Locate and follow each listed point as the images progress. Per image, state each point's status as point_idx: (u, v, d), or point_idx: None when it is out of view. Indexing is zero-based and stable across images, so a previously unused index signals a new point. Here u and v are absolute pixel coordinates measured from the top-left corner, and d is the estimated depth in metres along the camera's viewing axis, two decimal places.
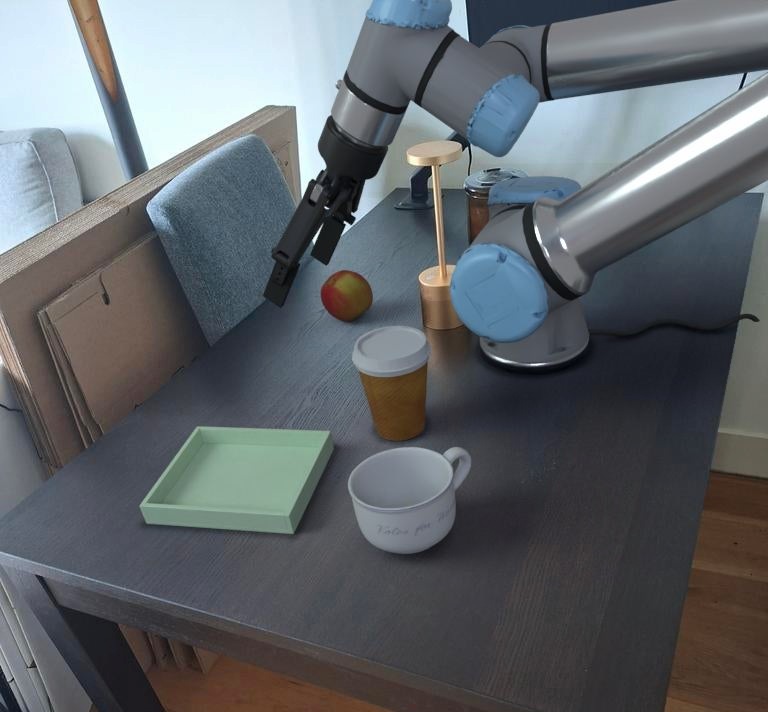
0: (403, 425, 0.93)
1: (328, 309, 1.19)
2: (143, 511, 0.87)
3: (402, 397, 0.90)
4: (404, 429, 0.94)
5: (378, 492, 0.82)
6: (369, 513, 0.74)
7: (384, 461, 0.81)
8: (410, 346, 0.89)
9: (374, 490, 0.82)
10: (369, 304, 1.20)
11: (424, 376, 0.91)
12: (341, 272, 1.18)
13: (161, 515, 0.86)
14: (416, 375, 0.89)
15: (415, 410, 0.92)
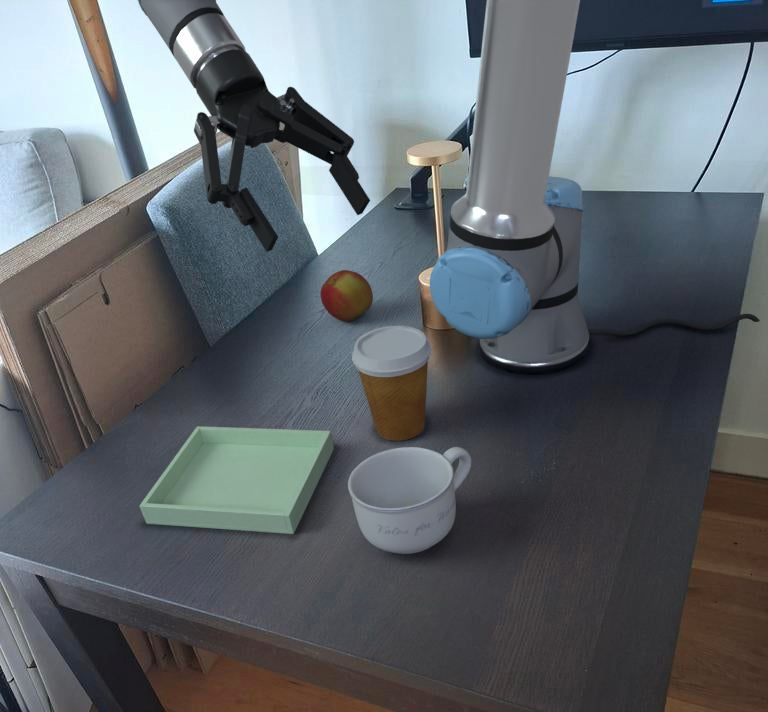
0: (403, 425, 0.93)
1: (328, 309, 1.19)
2: (143, 511, 0.87)
3: (402, 397, 0.90)
4: (404, 429, 0.94)
5: (378, 492, 0.82)
6: (369, 513, 0.74)
7: (384, 461, 0.81)
8: (410, 346, 0.89)
9: (374, 490, 0.82)
10: (369, 304, 1.20)
11: (424, 376, 0.91)
12: (341, 272, 1.18)
13: (161, 515, 0.86)
14: (416, 375, 0.89)
15: (415, 410, 0.92)
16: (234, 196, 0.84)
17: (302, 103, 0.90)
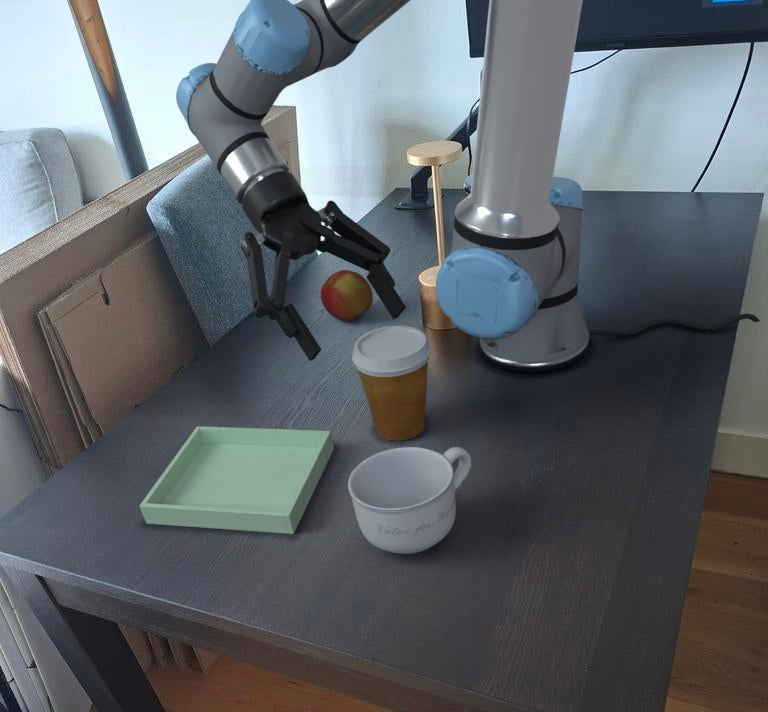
0: (403, 425, 0.93)
1: (328, 309, 1.19)
2: (143, 511, 0.87)
3: (402, 397, 0.90)
4: (404, 429, 0.94)
5: (378, 492, 0.82)
6: (369, 513, 0.74)
7: (384, 461, 0.81)
8: (410, 346, 0.89)
9: (374, 490, 0.82)
10: (369, 304, 1.20)
11: (424, 376, 0.91)
12: (341, 272, 1.18)
13: (161, 515, 0.86)
14: (416, 375, 0.89)
15: (415, 410, 0.92)
16: (280, 311, 0.89)
17: (341, 216, 0.95)
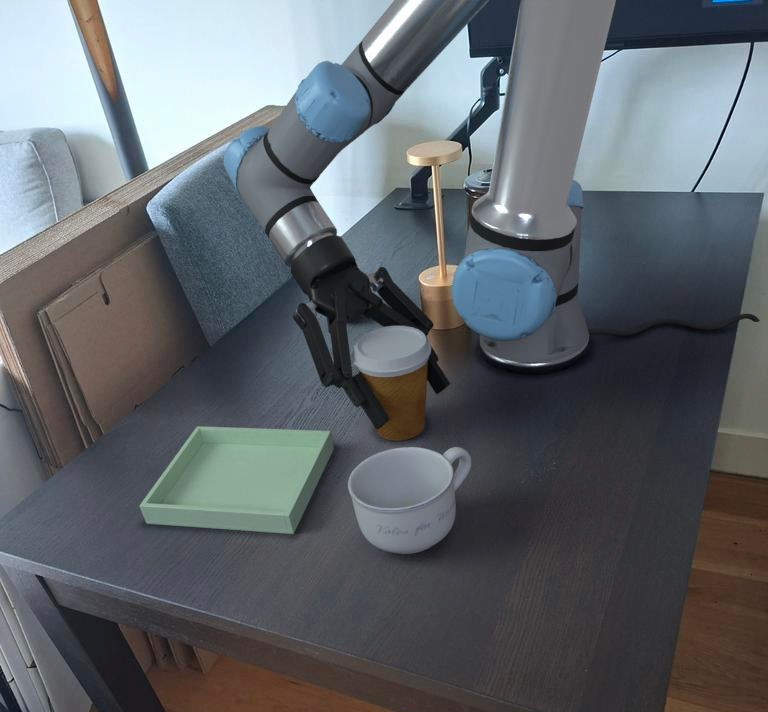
0: (403, 425, 0.93)
1: None
2: (143, 511, 0.87)
3: (402, 397, 0.90)
4: (404, 429, 0.94)
5: (378, 492, 0.82)
6: (369, 513, 0.74)
7: (384, 461, 0.81)
8: (410, 346, 0.89)
9: (374, 490, 0.82)
10: (369, 304, 1.20)
11: (424, 376, 0.91)
12: None
13: (161, 515, 0.86)
14: (416, 375, 0.89)
15: (415, 410, 0.92)
16: (348, 381, 0.89)
17: (390, 283, 0.94)
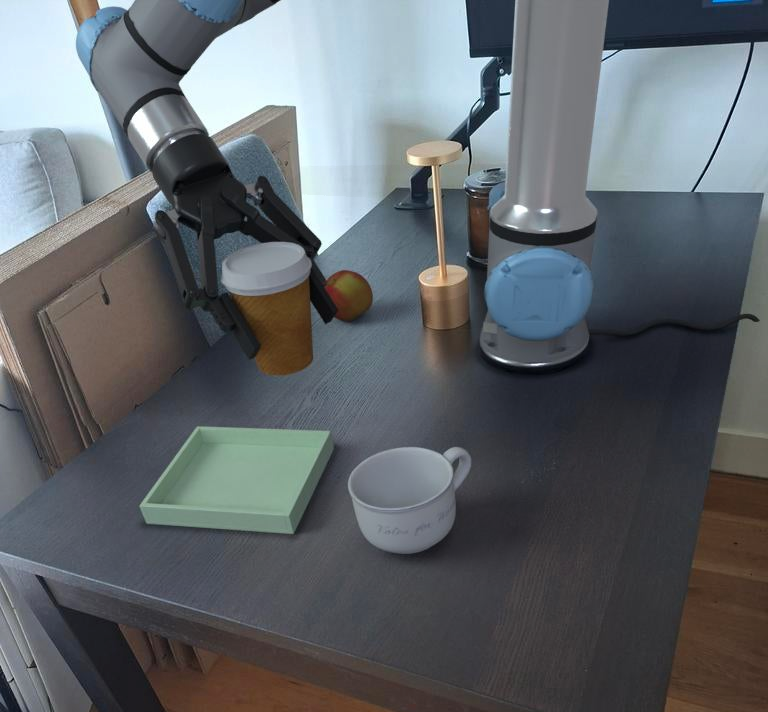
0: (283, 356, 0.81)
1: None
2: (143, 511, 0.87)
3: (277, 322, 0.78)
4: (284, 362, 0.82)
5: (378, 492, 0.82)
6: (369, 513, 0.74)
7: (384, 461, 0.81)
8: (285, 261, 0.77)
9: (374, 490, 0.82)
10: (369, 304, 1.20)
11: (304, 298, 0.79)
12: (341, 272, 1.18)
13: (161, 515, 0.86)
14: (291, 295, 0.77)
15: (296, 339, 0.80)
16: (213, 302, 0.77)
17: (271, 195, 0.82)
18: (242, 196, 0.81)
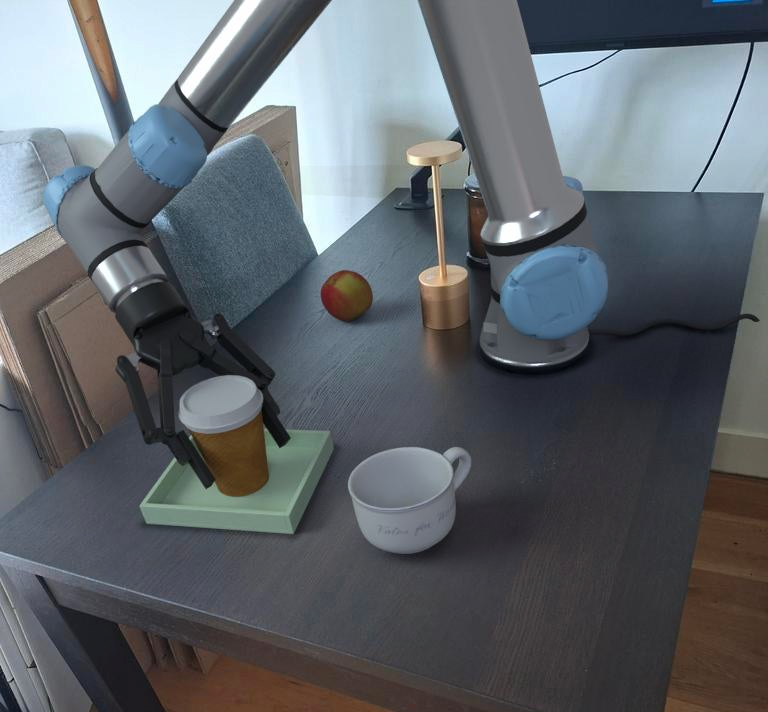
0: (239, 481, 0.87)
1: (328, 309, 1.19)
2: (143, 511, 0.87)
3: (231, 453, 0.84)
4: (240, 485, 0.88)
5: (378, 492, 0.82)
6: (369, 513, 0.74)
7: (384, 461, 0.81)
8: (238, 399, 0.83)
9: (374, 490, 0.82)
10: (369, 304, 1.20)
11: (256, 430, 0.85)
12: (341, 272, 1.18)
13: (161, 515, 0.86)
14: (244, 430, 0.83)
15: (250, 466, 0.86)
16: (171, 439, 0.83)
17: (227, 331, 0.88)
18: (199, 335, 0.87)
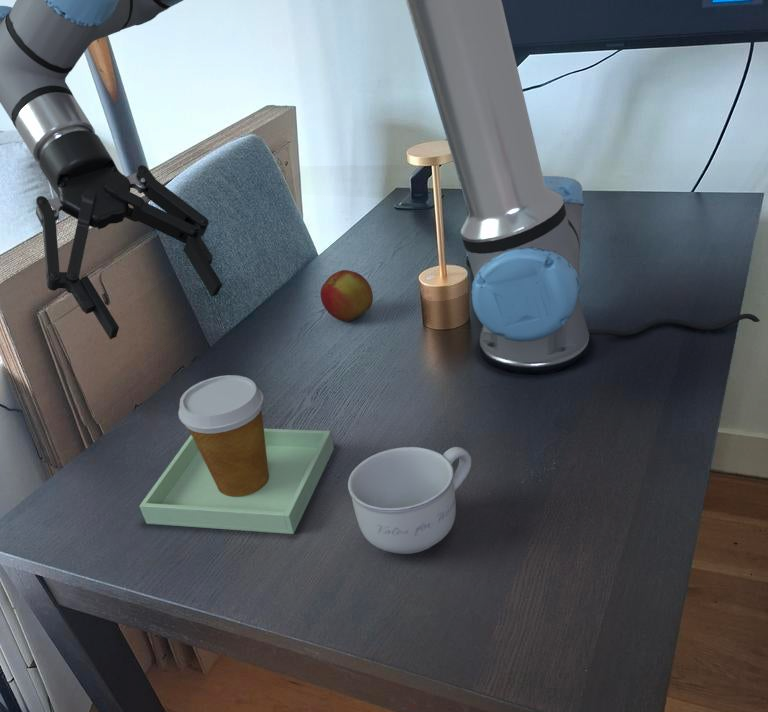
0: (239, 481, 0.87)
1: (328, 309, 1.19)
2: (143, 511, 0.87)
3: (232, 453, 0.84)
4: (240, 485, 0.88)
5: (378, 492, 0.82)
6: (369, 513, 0.74)
7: (384, 461, 0.81)
8: (238, 399, 0.83)
9: (374, 490, 0.82)
10: (369, 304, 1.20)
11: (256, 430, 0.85)
12: (341, 272, 1.18)
13: (161, 515, 0.86)
14: (244, 430, 0.83)
15: (250, 466, 0.86)
16: (74, 284, 0.83)
17: (154, 182, 0.89)
18: (127, 188, 0.87)
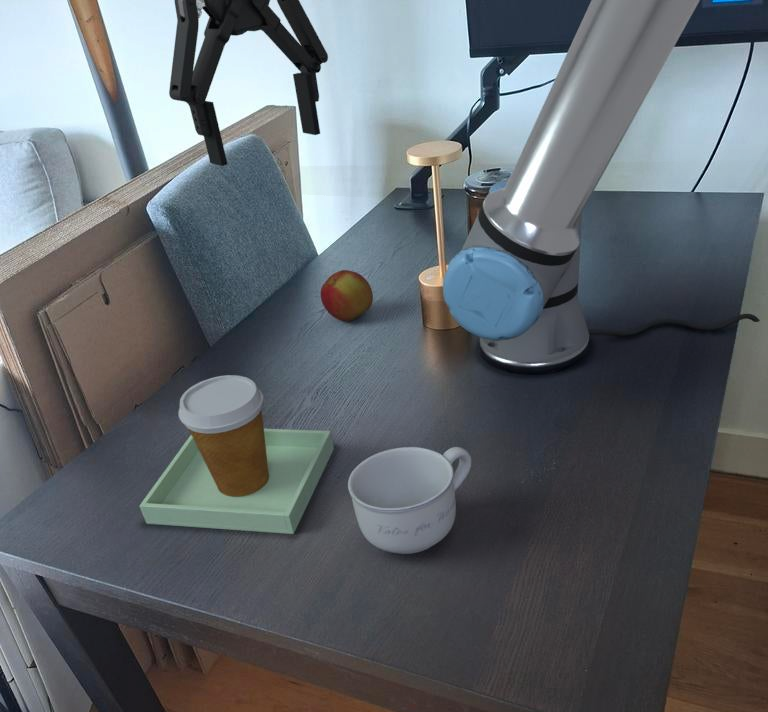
0: (239, 481, 0.87)
1: (328, 309, 1.19)
2: (143, 511, 0.87)
3: (232, 453, 0.84)
4: (240, 485, 0.88)
5: (378, 492, 0.82)
6: (369, 513, 0.74)
7: (384, 461, 0.81)
8: (238, 399, 0.83)
9: (374, 490, 0.82)
10: (369, 304, 1.20)
11: (256, 430, 0.85)
12: (341, 272, 1.18)
13: (161, 515, 0.86)
14: (244, 430, 0.83)
15: (250, 466, 0.86)
16: (198, 107, 0.83)
17: None
18: (269, 1, 0.83)
